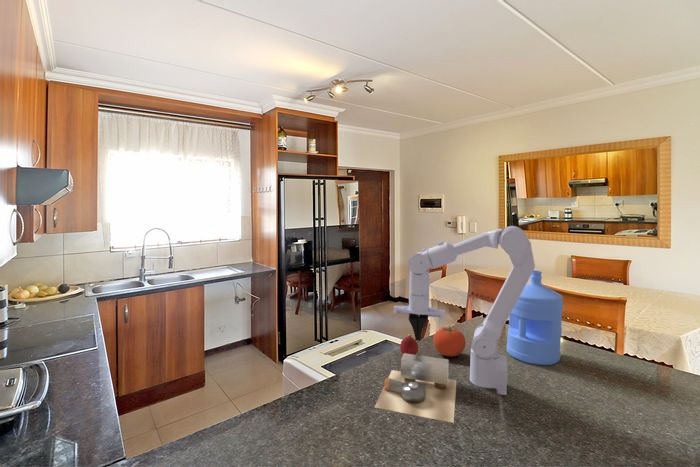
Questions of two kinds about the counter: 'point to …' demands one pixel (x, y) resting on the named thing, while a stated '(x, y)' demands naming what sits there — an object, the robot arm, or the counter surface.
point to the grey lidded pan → (406, 390)
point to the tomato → (449, 341)
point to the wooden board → (433, 407)
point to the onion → (409, 345)
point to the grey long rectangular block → (424, 368)
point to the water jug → (536, 324)
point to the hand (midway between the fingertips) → (418, 339)
